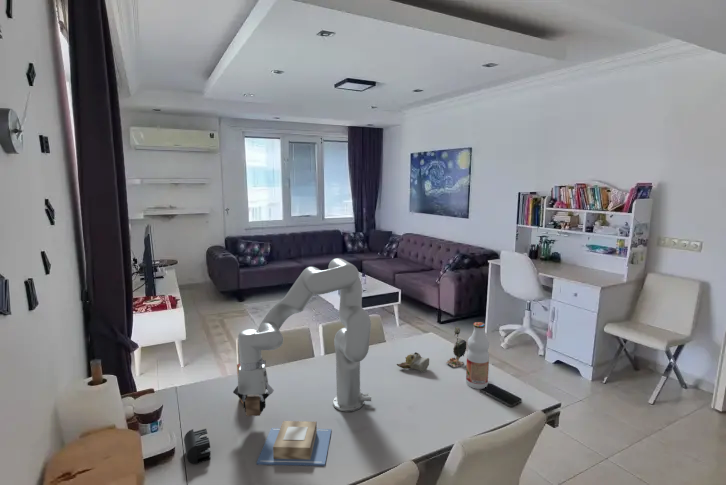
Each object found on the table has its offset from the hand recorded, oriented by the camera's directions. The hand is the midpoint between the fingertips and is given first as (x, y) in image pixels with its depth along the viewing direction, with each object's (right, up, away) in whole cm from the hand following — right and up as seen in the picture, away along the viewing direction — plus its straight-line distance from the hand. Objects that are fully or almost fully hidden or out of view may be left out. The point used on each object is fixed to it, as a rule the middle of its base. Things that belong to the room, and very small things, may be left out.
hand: (254, 409), depth 147 cm
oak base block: (+17, -8, -11) cm, 22 cm away
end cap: (-15, -9, -14) cm, 23 cm away
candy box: (-8, -4, +17) cm, 19 cm away
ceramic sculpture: (+65, 0, +45) cm, 79 cm away
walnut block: (0, -1, 0) cm, 1 cm away
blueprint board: (+17, -8, -11) cm, 22 cm away
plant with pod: (+86, +1, +50) cm, 100 cm away
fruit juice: (+91, -2, +30) cm, 96 cm away
